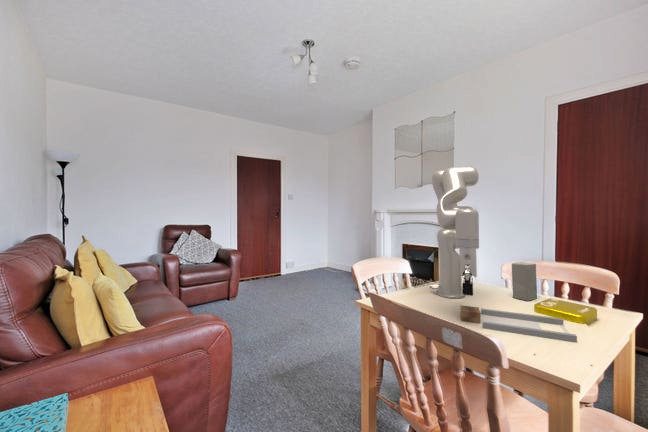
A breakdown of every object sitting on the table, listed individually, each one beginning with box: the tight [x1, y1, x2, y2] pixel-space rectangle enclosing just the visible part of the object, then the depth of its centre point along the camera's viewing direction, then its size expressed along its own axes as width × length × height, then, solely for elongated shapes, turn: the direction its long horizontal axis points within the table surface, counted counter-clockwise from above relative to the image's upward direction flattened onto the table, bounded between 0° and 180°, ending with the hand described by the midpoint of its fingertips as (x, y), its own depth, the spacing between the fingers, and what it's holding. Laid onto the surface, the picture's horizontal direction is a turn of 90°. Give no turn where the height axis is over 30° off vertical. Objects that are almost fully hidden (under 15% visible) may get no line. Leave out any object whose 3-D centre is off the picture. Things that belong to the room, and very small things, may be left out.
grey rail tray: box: [480, 307, 578, 343], centre depth 95 cm, size 24×15×3 cm, turn 63°
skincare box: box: [511, 261, 538, 302], centre depth 127 cm, size 8×7×16 cm
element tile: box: [533, 298, 598, 327], centre depth 105 cm, size 15×15×5 cm
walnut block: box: [459, 305, 482, 325], centre depth 101 cm, size 6×6×5 cm
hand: (467, 291), depth 102 cm, fingers open, 9 cm apart
